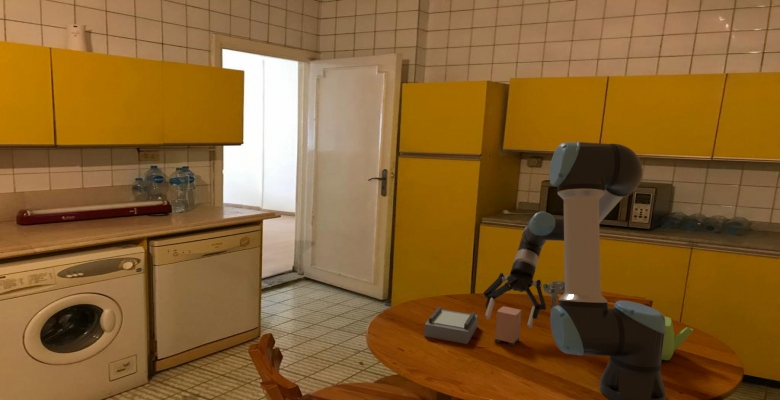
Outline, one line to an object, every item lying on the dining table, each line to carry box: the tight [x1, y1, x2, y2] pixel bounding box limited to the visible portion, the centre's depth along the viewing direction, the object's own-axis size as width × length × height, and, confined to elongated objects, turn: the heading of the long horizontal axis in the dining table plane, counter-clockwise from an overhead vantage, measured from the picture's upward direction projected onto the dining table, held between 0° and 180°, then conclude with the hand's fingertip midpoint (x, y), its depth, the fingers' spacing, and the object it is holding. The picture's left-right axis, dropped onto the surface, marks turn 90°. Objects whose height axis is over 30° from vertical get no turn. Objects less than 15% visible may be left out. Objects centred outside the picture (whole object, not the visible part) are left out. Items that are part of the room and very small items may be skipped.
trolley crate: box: [494, 305, 522, 347], centre depth 159 cm, size 6×6×10 cm
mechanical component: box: [542, 280, 565, 309], centre depth 193 cm, size 3×10×10 cm, turn 115°
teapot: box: [662, 315, 694, 361], centre depth 154 cm, size 18×20×13 cm
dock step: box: [423, 306, 479, 345], centre depth 166 cm, size 16×14×6 cm
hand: (507, 322), depth 159 cm, fingers open, 13 cm apart
